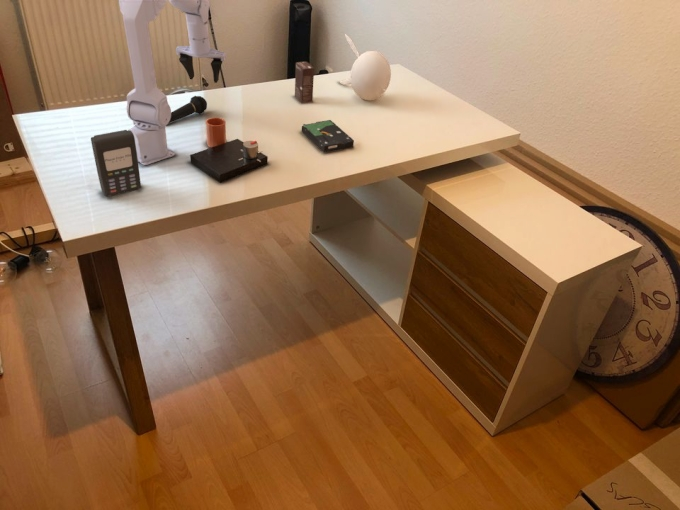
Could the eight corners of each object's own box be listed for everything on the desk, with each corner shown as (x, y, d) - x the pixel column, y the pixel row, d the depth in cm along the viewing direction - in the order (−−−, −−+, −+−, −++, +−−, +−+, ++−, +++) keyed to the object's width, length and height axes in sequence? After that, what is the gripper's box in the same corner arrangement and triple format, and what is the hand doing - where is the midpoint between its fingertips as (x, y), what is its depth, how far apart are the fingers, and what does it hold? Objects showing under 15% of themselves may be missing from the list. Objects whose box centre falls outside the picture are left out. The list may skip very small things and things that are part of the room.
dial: (249, 160, 147) (249, 148, 145) (240, 154, 149) (239, 142, 147) (261, 156, 150) (261, 143, 148) (251, 150, 152) (251, 138, 150)
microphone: (157, 139, 163) (210, 113, 174) (157, 125, 158) (211, 99, 170) (145, 128, 164) (198, 103, 175) (145, 113, 160) (199, 89, 171)
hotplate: (223, 184, 142) (222, 175, 140) (190, 163, 149) (189, 154, 147) (271, 165, 152) (272, 156, 150) (239, 145, 159) (239, 137, 157)
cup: (214, 150, 155) (213, 127, 151) (203, 143, 158) (202, 120, 153) (229, 145, 158) (229, 122, 154) (218, 138, 161) (217, 115, 157)
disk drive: (353, 148, 165) (329, 127, 174) (355, 140, 163) (330, 118, 172) (323, 154, 160) (300, 131, 169) (324, 145, 158) (300, 123, 168)
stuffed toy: (407, 61, 182) (362, 28, 194) (375, 70, 175) (330, 35, 188) (396, 111, 195) (355, 77, 208) (366, 121, 189) (325, 85, 202)
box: (293, 96, 190) (295, 62, 182) (305, 95, 192) (307, 61, 184) (300, 103, 186) (302, 68, 178) (312, 102, 188) (315, 67, 180)
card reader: (105, 199, 131) (93, 142, 122) (99, 191, 134) (88, 135, 125) (143, 190, 136) (135, 134, 127) (137, 182, 138) (128, 127, 129)
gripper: (227, 33, 160) (231, 76, 170) (179, 26, 161) (185, 70, 171) (219, 43, 155) (224, 87, 165) (170, 37, 156) (177, 81, 166)
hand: (204, 79), depth 167 cm, fingers open, 7 cm apart
